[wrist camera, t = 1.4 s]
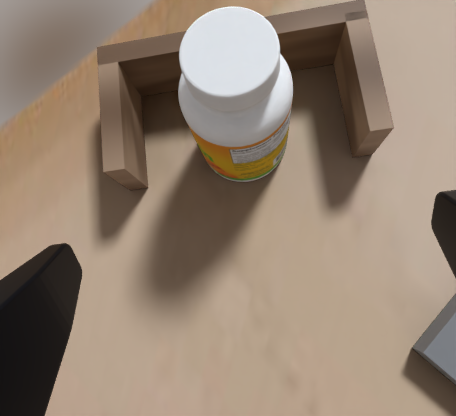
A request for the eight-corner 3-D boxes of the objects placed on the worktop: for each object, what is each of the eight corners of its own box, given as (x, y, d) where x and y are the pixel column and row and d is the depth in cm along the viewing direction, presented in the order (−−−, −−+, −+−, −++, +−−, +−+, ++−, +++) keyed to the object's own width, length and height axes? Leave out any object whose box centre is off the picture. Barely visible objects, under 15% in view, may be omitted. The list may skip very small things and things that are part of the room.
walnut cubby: (372, 154, 23) (394, 127, 19) (130, 190, 24) (103, 171, 20) (348, 44, 24) (364, -1, 20) (123, 83, 25) (97, 47, 22)
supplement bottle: (191, 122, 24) (143, 19, 15) (268, 93, 24) (268, -30, 15) (218, 196, 23) (183, 135, 14) (299, 166, 23) (321, 83, 14)
